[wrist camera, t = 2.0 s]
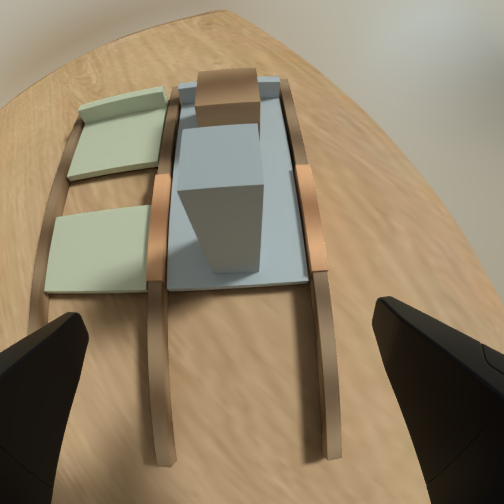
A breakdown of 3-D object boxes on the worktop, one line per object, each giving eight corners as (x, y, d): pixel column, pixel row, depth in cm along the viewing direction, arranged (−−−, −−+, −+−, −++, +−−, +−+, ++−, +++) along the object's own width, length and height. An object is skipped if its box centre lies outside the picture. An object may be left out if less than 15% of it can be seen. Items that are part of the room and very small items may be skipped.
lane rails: (337, 451, 17) (344, 458, 15) (45, 434, 16) (33, 437, 15) (287, 90, 29) (288, 77, 27) (87, 115, 29) (81, 106, 27)
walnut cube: (259, 143, 25) (260, 101, 20) (203, 147, 25) (194, 106, 20) (255, 107, 26) (255, 67, 22) (205, 111, 26) (198, 72, 22)
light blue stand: (306, 283, 21) (358, 202, 10) (169, 291, 21) (93, 220, 10) (277, 97, 28) (283, 3, 17) (184, 104, 28) (163, 12, 17)
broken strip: (149, 292, 21) (134, 281, 18) (49, 293, 21) (28, 284, 18) (169, 106, 28) (163, 85, 25) (90, 122, 28) (80, 105, 25)
